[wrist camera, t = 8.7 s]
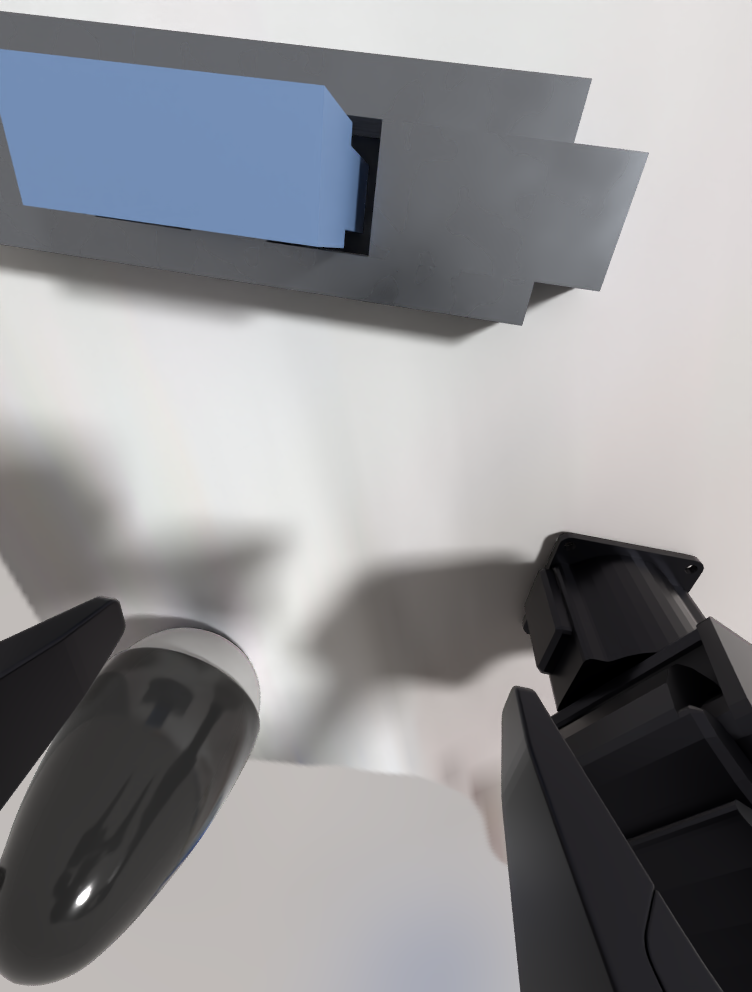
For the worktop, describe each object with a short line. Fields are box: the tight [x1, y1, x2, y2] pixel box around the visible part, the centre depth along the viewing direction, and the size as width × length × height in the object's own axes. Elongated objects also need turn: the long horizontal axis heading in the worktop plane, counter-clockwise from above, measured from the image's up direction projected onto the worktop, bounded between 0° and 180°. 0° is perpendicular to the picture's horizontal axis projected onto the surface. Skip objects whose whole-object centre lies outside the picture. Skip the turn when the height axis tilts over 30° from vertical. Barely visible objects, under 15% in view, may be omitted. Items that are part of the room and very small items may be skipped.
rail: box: [0, 11, 649, 326], centre depth 14 cm, size 24×6×2 cm, turn 83°
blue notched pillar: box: [0, 49, 369, 248], centre depth 13 cm, size 8×3×6 cm, turn 83°
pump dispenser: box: [0, 628, 260, 986], centre depth 23 cm, size 10×10×15 cm
